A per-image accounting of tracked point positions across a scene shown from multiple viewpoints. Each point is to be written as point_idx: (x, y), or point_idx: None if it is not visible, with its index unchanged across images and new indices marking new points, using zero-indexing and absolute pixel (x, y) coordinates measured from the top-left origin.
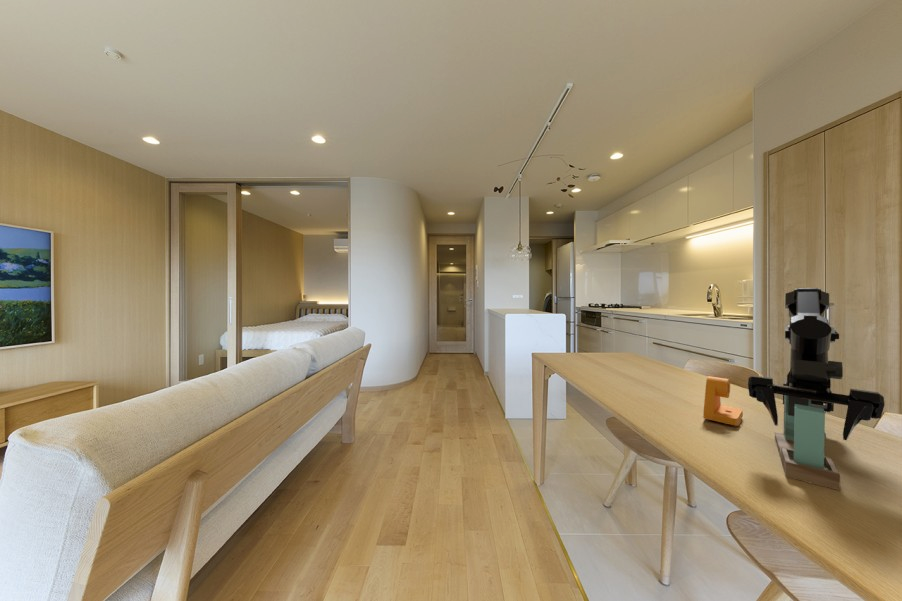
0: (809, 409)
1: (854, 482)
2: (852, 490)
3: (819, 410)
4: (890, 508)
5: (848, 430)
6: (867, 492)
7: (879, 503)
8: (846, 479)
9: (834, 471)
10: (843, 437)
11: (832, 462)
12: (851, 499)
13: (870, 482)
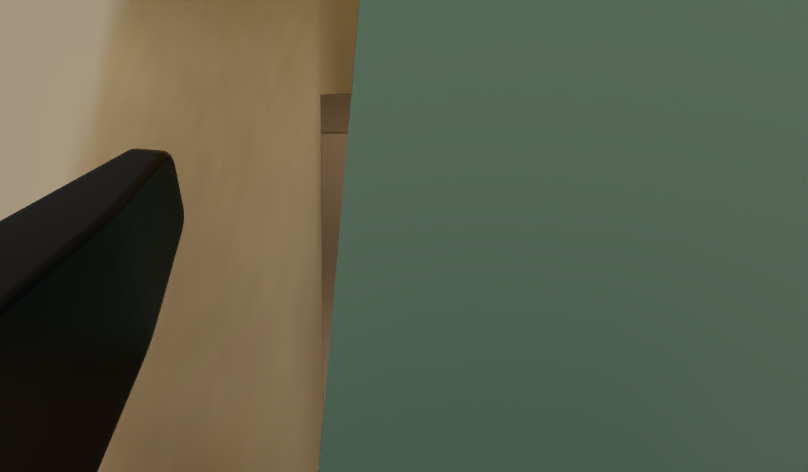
0: (735, 153)
1: (223, 369)
2: (263, 196)
3: (466, 240)
4: (121, 57)
5: (49, 211)
6: (185, 233)
7: (160, 90)
8: (261, 392)
9: (346, 143)
10: (173, 191)
11: (326, 373)
12: (297, 29)
13: (125, 455)
